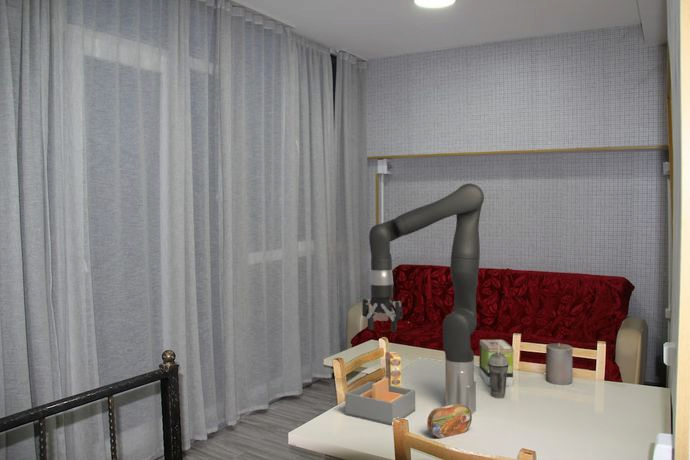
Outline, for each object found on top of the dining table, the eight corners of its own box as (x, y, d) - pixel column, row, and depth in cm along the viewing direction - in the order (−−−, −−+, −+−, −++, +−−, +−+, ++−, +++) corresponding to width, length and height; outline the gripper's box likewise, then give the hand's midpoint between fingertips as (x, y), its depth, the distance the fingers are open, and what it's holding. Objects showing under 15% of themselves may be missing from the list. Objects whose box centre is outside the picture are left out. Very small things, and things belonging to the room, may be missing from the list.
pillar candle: (543, 377, 226) (543, 339, 225) (569, 377, 224) (569, 340, 224) (548, 384, 216) (548, 345, 215) (575, 385, 215) (575, 346, 214)
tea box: (514, 386, 214) (514, 347, 214) (487, 386, 214) (487, 347, 214) (503, 374, 229) (503, 338, 229) (478, 375, 229) (478, 338, 229)
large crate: (415, 410, 189) (415, 390, 189) (392, 425, 176) (392, 403, 176) (370, 401, 199) (369, 381, 198) (345, 414, 186) (345, 393, 185)
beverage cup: (486, 398, 201) (486, 342, 200) (489, 392, 208) (489, 337, 207) (507, 400, 198) (507, 343, 198) (509, 394, 205) (509, 339, 204)
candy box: (402, 401, 199) (402, 357, 198) (390, 401, 198) (390, 358, 198) (396, 393, 207) (396, 351, 207) (385, 393, 207) (384, 351, 206)
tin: (431, 440, 165) (431, 412, 164) (425, 436, 167) (425, 408, 167) (472, 431, 172) (472, 403, 171) (465, 427, 174) (465, 400, 174)
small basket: (403, 409, 188) (403, 380, 188) (389, 418, 180) (389, 388, 179) (372, 402, 194) (372, 374, 194) (357, 411, 186) (356, 382, 186)
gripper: (405, 282, 191) (406, 330, 192) (368, 280, 199) (369, 326, 199) (395, 285, 185) (395, 334, 185) (357, 283, 193) (358, 330, 193)
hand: (382, 330), depth 192 cm, fingers open, 8 cm apart
